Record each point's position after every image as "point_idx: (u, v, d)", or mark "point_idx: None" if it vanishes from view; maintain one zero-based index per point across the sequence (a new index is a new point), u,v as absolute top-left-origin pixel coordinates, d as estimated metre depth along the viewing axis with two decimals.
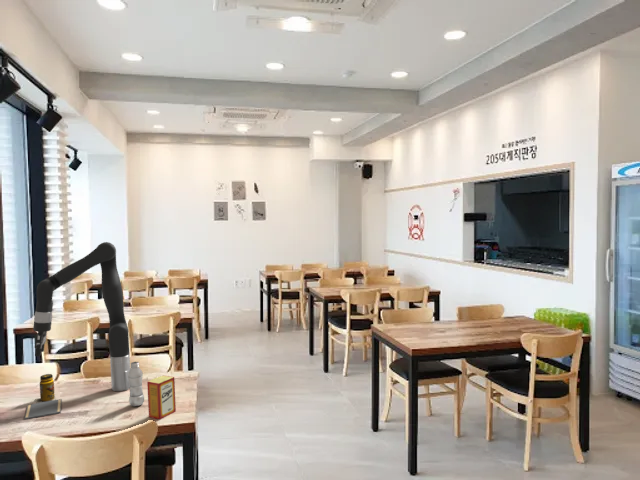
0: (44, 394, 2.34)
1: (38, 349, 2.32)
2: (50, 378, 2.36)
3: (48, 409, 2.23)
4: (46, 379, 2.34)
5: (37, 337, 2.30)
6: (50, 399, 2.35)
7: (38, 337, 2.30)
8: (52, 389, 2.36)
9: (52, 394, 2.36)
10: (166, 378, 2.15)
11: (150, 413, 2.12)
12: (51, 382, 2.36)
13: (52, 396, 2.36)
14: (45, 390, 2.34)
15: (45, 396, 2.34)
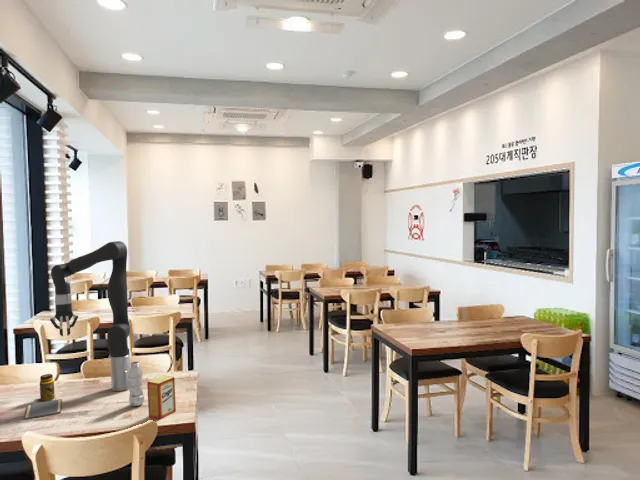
0: (44, 394, 2.34)
1: (59, 329, 2.52)
2: (50, 378, 2.36)
3: (48, 409, 2.23)
4: (46, 379, 2.34)
5: None
6: (50, 399, 2.35)
7: (50, 320, 2.50)
8: (52, 389, 2.36)
9: (52, 394, 2.36)
10: (166, 378, 2.15)
11: (150, 413, 2.12)
12: (51, 382, 2.36)
13: (52, 396, 2.36)
14: (45, 390, 2.34)
15: (45, 396, 2.34)
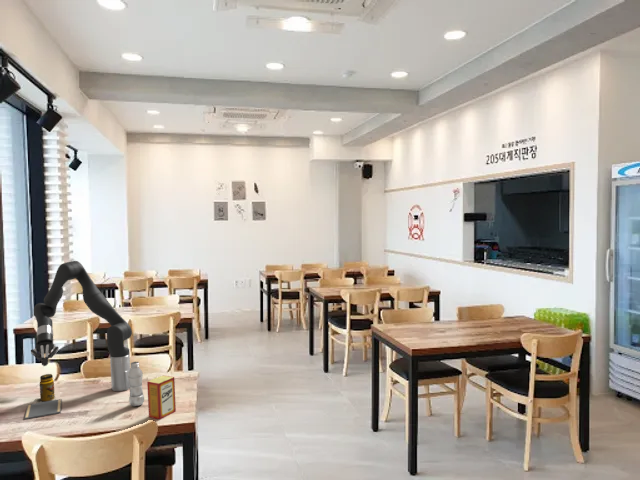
0: (44, 394, 2.34)
1: (41, 359, 2.46)
2: (50, 378, 2.36)
3: (48, 409, 2.23)
4: (46, 379, 2.34)
5: (31, 353, 2.48)
6: (50, 399, 2.35)
7: (31, 352, 2.47)
8: (52, 389, 2.36)
9: (52, 394, 2.36)
10: (166, 378, 2.15)
11: (150, 413, 2.12)
12: (51, 382, 2.36)
13: (52, 396, 2.36)
14: (45, 390, 2.34)
15: (45, 396, 2.34)
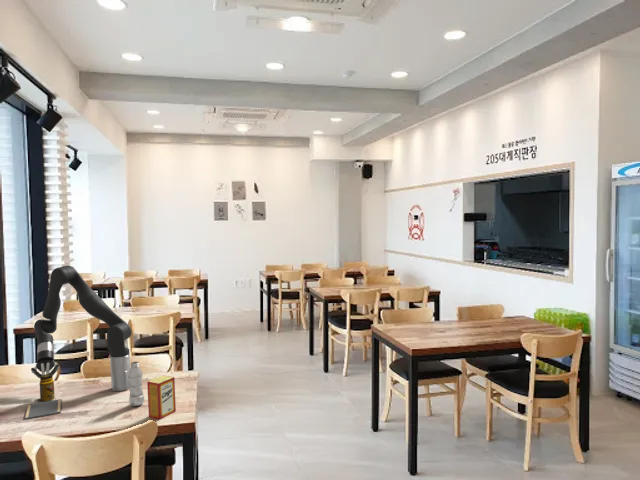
0: (44, 394, 2.34)
1: None
2: (50, 378, 2.35)
3: (48, 409, 2.23)
4: (46, 379, 2.34)
5: (32, 371, 2.42)
6: (50, 399, 2.35)
7: (32, 371, 2.42)
8: (52, 389, 2.36)
9: (52, 394, 2.36)
10: (166, 378, 2.15)
11: (150, 413, 2.12)
12: (51, 382, 2.35)
13: (52, 396, 2.36)
14: (44, 390, 2.34)
15: (45, 396, 2.34)
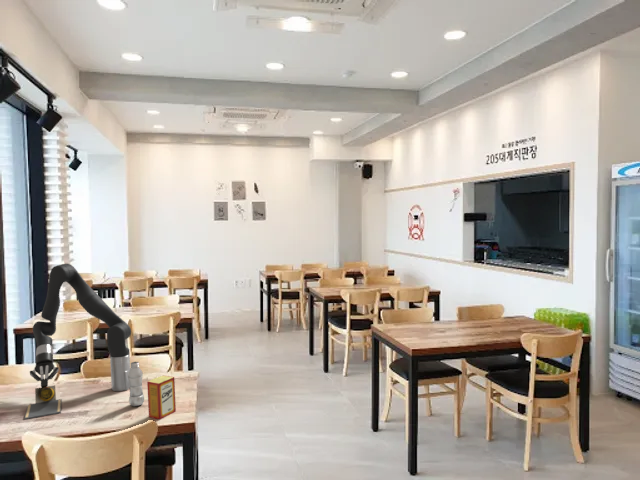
0: None
1: None
2: (50, 397, 2.25)
3: (48, 409, 2.23)
4: (45, 399, 2.24)
5: (30, 374, 2.36)
6: (50, 400, 2.34)
7: (30, 374, 2.36)
8: (52, 397, 2.30)
9: (52, 398, 2.32)
10: (166, 378, 2.15)
11: (150, 413, 2.12)
12: (51, 398, 2.27)
13: (52, 398, 2.33)
14: (44, 400, 2.28)
15: None
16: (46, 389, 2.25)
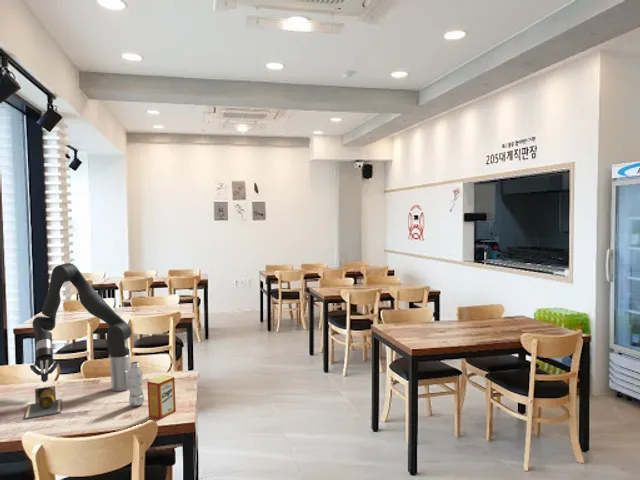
0: None
1: (41, 375, 2.39)
2: (50, 405, 2.25)
3: (48, 409, 2.23)
4: None
5: (31, 368, 2.40)
6: None
7: (30, 368, 2.40)
8: None
9: None
10: (166, 378, 2.15)
11: (150, 413, 2.12)
12: None
13: None
14: None
15: None
16: (46, 398, 2.23)
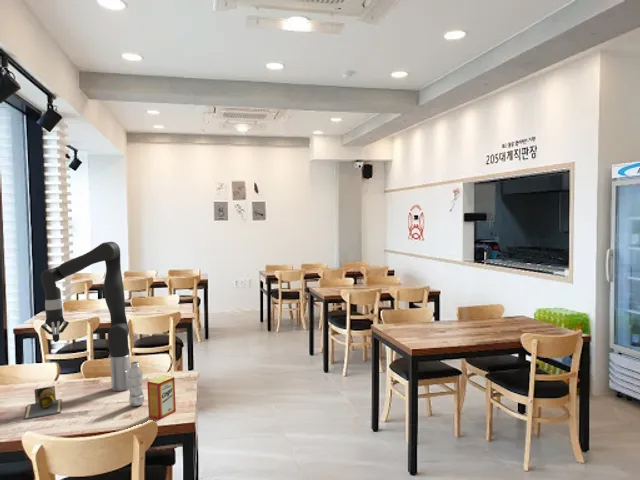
0: None
1: (52, 335, 2.47)
2: (50, 405, 2.25)
3: (48, 409, 2.23)
4: None
5: None
6: None
7: (42, 327, 2.45)
8: None
9: None
10: (166, 378, 2.15)
11: (150, 413, 2.12)
12: (51, 404, 2.27)
13: None
14: None
15: None
16: (46, 399, 2.23)
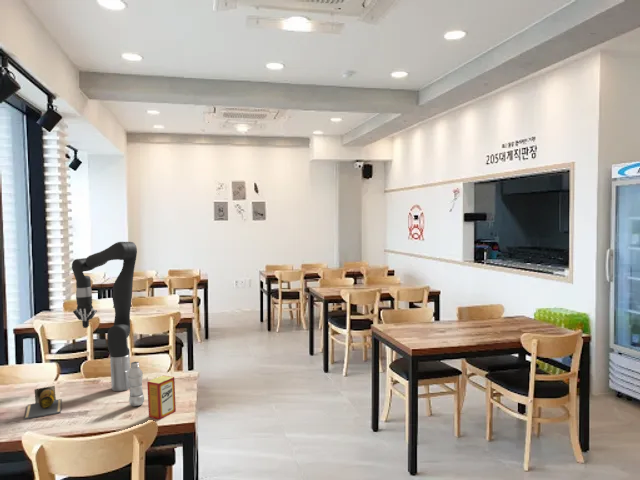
0: None
1: (88, 321, 2.62)
2: (50, 405, 2.25)
3: (48, 409, 2.23)
4: None
5: (94, 312, 2.61)
6: None
7: (94, 312, 2.61)
8: None
9: None
10: (166, 378, 2.15)
11: (150, 413, 2.12)
12: (51, 404, 2.27)
13: None
14: None
15: None
16: (46, 399, 2.23)
